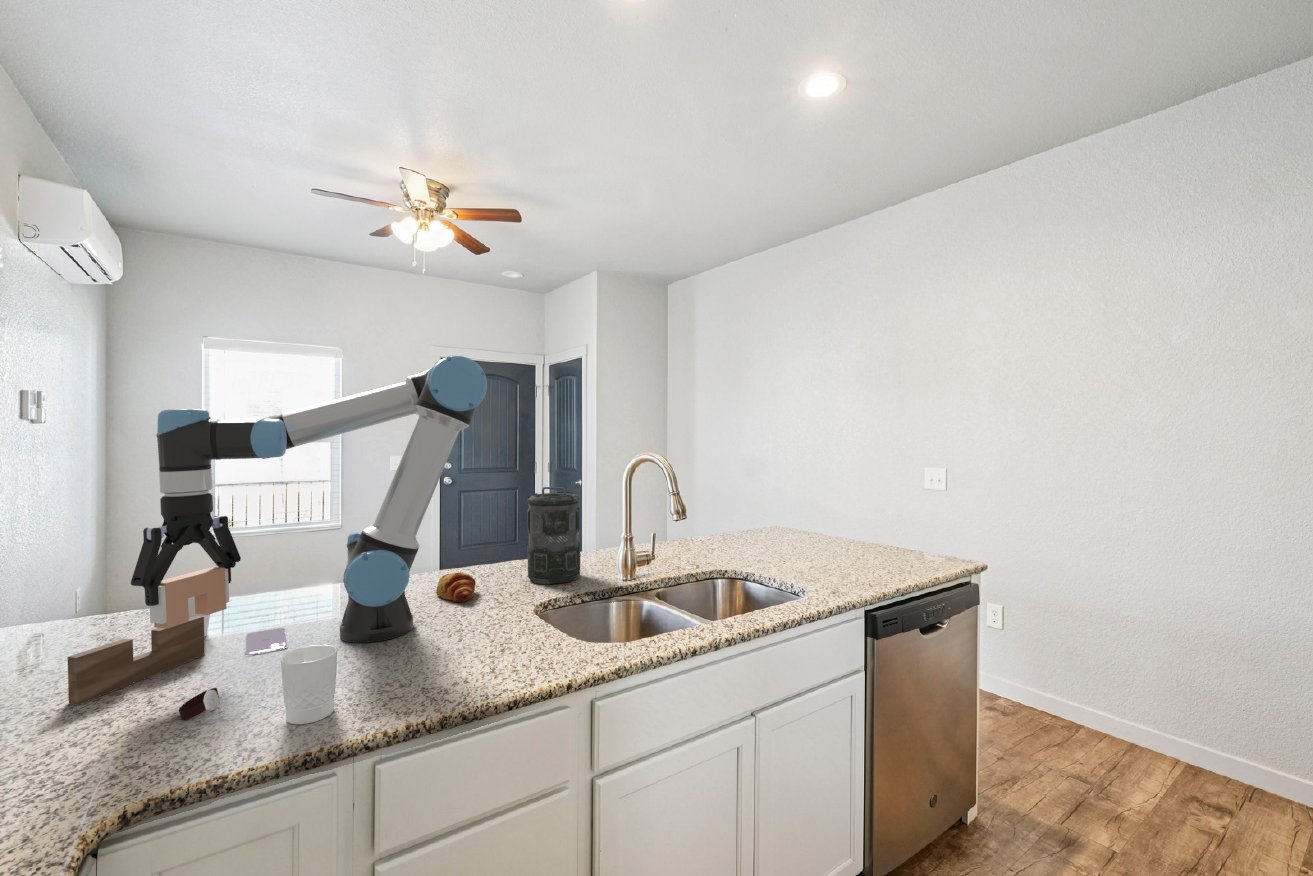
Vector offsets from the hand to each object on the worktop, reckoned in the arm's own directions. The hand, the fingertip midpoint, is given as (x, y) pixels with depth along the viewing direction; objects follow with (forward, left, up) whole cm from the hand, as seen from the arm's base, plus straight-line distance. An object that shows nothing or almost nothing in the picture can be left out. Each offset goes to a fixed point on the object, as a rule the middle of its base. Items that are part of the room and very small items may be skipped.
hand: (191, 612), depth 109 cm
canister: (-37, -82, -13) cm, 91 cm away
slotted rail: (+10, +1, -13) cm, 16 cm away
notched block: (0, 0, -1) cm, 1 cm away
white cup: (-32, +6, -13) cm, 35 cm away
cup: (+22, -17, -13) cm, 31 cm away
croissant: (-17, -60, -13) cm, 63 cm away
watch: (-13, +9, -13) cm, 20 cm away
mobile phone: (+3, -19, -13) cm, 23 cm away
